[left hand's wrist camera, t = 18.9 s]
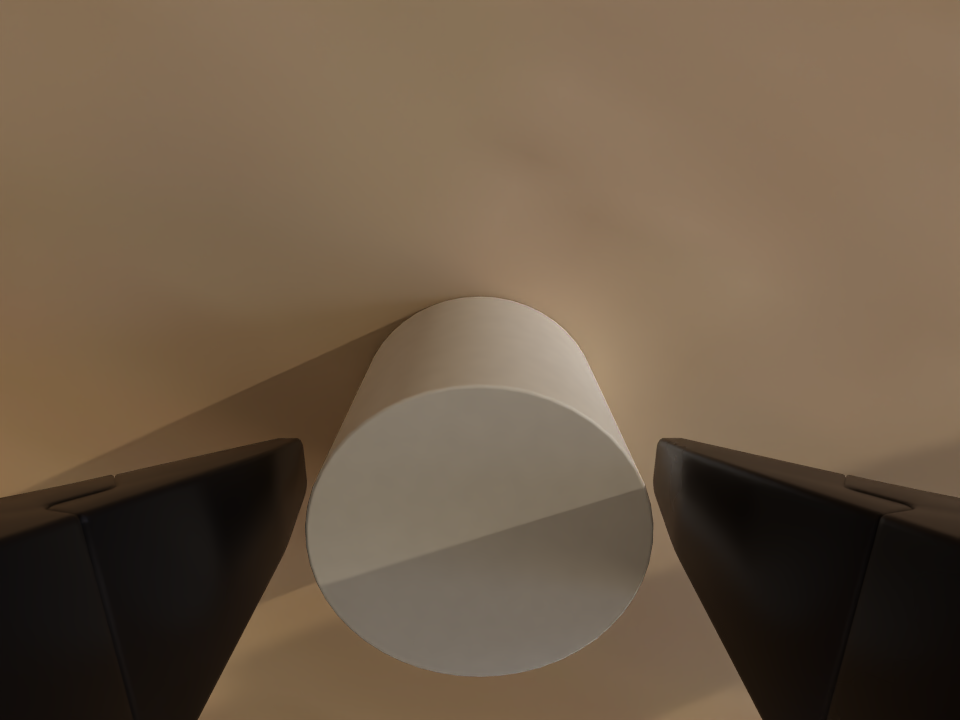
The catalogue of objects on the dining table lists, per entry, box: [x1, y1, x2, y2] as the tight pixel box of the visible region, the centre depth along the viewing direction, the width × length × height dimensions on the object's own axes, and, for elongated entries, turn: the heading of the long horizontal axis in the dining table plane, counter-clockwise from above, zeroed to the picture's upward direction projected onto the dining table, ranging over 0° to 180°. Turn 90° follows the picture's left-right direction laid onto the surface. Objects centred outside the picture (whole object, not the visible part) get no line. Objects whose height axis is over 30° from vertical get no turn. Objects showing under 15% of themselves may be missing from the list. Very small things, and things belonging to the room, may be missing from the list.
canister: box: [305, 296, 653, 677], centre depth 11 cm, size 5×5×5 cm
